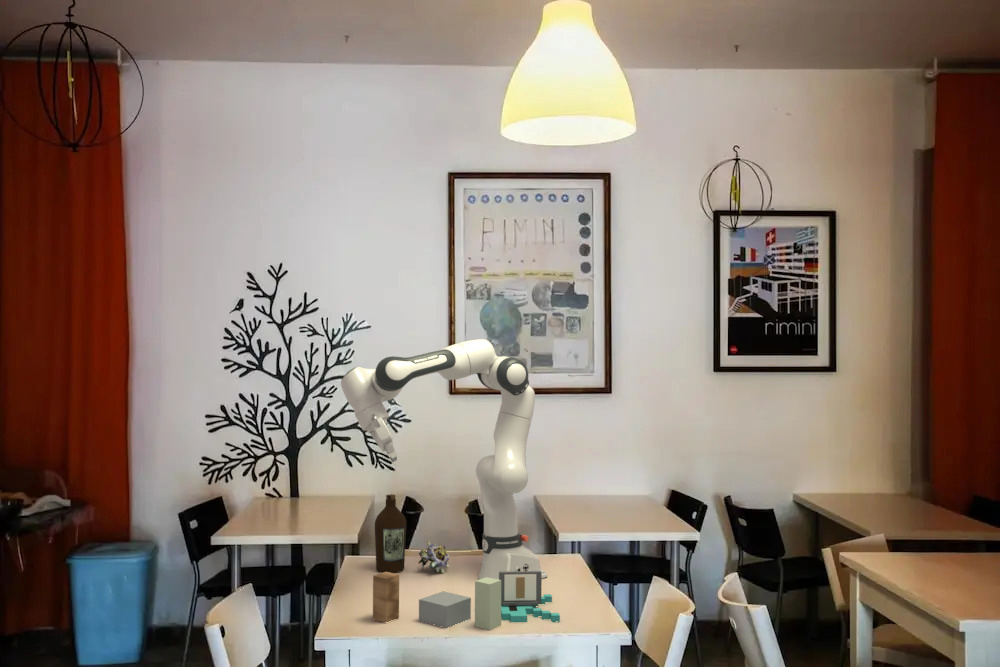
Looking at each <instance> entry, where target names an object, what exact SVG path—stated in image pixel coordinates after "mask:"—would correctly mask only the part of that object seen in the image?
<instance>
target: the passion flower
mask: <svg viewBox="0 0 1000 667" xmlns="http://www.w3.org/2000/svg"><path fill="white" fill-rule="evenodd" d="M426 544H427V547H426V549H421V551H420V552H419V553H418V554H419V556H420V560H418V564H421V569H423V570H424V567H425V566H426V565H427V563H428V562H429V565H428V566H429V568H433V570H434V571H435V572H436V573H440V574H442V573H443V574H445V568H450V565H449V563H448V562H449V560H450V558H449V557H450V555H449V554H448V552H447V550H446V546H445V545H444V546H442V545H438V544H437V543H432V544H431V542H430V541H426Z"/></svg>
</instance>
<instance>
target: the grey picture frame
mask: <svg viewBox="0 0 1000 667" xmlns="http://www.w3.org/2000/svg"><path fill="white" fill-rule="evenodd" d="M542 579H543V578H542V572H541V571H504V572H499V580H501V605H503V606H522V605H538V604H541V597H542V586H543V585H542V581H543V580H542ZM538 606H539V605H538Z"/></svg>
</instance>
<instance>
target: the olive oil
mask: <svg viewBox="0 0 1000 667" xmlns="http://www.w3.org/2000/svg"><path fill="white" fill-rule="evenodd" d="M396 497H397V495H396V494H392V493H391V494H386V495H385V498H386V499H385V506H384V508H383V509H382V510H381V511H380V512H379V513H378V515H377V516H376V518H375V520H374V541H375V542H374V543H375V545H374V546H375V571H376V572H377V571H378V573H380V572H381V573H383V572H390V573H394V574H397V573H396V572H398V573H400V571H401V572H403V571H404V570H405V561H406V560H405V559H406V558H405V557H406V554H405V553H406V539H407V538H406V537H407V519H406V517H405V515H404V514H403V512H401V511H400V509H399V508H398V507H397V506H396V505H397V499H396Z"/></svg>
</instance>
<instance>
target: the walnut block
mask: <svg viewBox="0 0 1000 667" xmlns="http://www.w3.org/2000/svg"><path fill="white" fill-rule="evenodd" d="M397 618H399V619H400V574H399V573H390V572H383V573H380V572H379V573H377V574H373V576H372V620H373V619H375V620H379V621H382V622H381V623H383V622H389V621H391V620H394V619H397ZM375 620H374V621H375ZM397 620H398V619H397ZM379 621H378V622H379ZM394 621H395V620H394ZM391 622H392V621H391ZM389 623H390V622H389Z"/></svg>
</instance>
